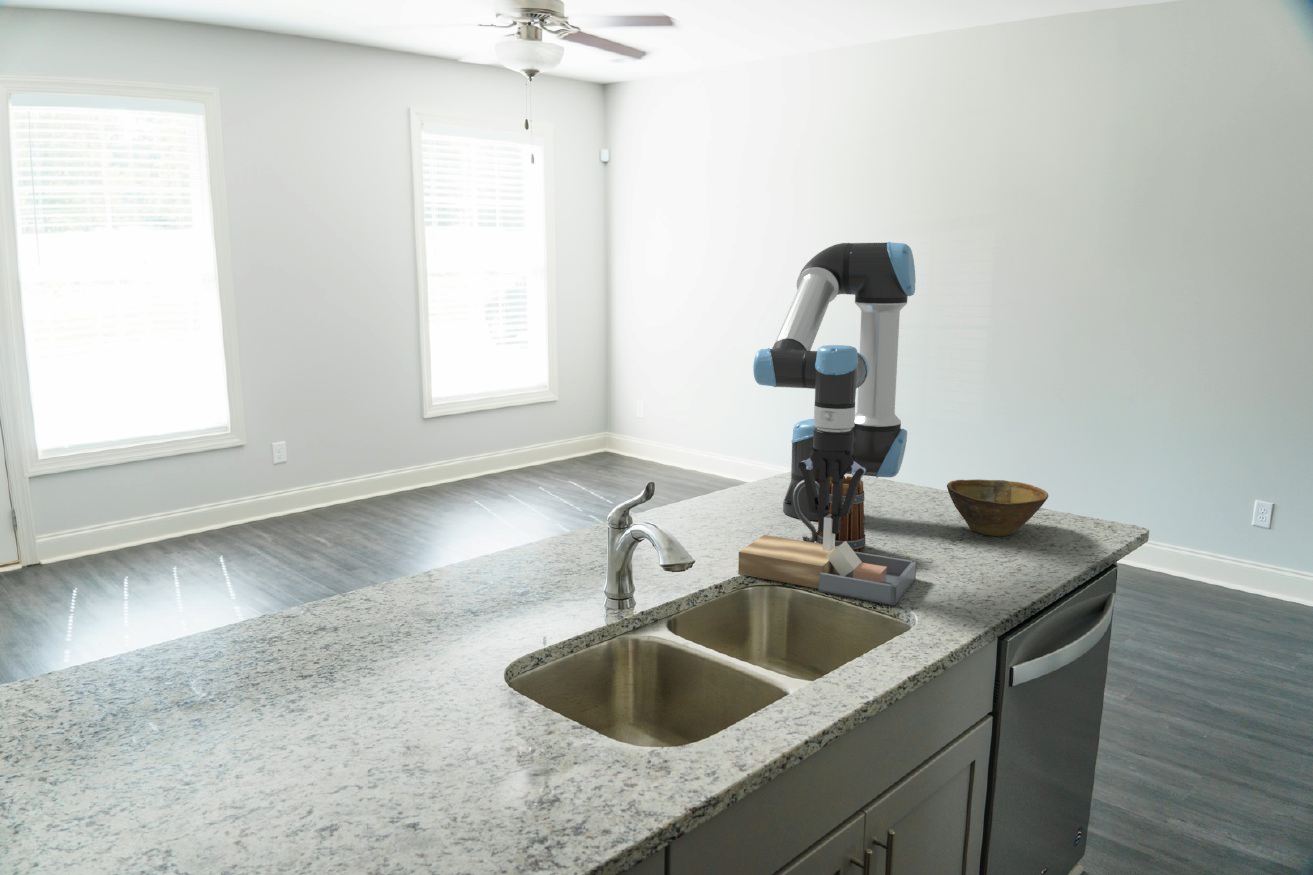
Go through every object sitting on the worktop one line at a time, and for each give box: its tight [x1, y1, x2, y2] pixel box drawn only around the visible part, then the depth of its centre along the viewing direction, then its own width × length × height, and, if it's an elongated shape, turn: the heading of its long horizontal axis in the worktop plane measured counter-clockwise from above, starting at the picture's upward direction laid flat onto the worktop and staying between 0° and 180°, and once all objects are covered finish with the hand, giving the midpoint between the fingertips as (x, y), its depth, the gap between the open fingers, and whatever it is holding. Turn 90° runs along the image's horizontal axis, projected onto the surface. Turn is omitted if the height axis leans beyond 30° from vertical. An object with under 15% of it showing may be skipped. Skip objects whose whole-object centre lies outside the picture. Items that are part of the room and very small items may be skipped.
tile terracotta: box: [853, 563, 887, 584], centre depth 167 cm, size 5×5×3 cm
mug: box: [793, 475, 866, 553], centre depth 189 cm, size 16×11×15 cm
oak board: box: [737, 534, 838, 590], centre depth 175 cm, size 13×17×4 cm
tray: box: [818, 551, 918, 606], centre depth 168 cm, size 16×14×4 cm
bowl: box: [946, 479, 1049, 537], centre depth 202 cm, size 22×23×10 cm
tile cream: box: [826, 541, 862, 576], centre depth 169 cm, size 5×5×3 cm
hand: (828, 548), depth 171 cm, fingers closed
